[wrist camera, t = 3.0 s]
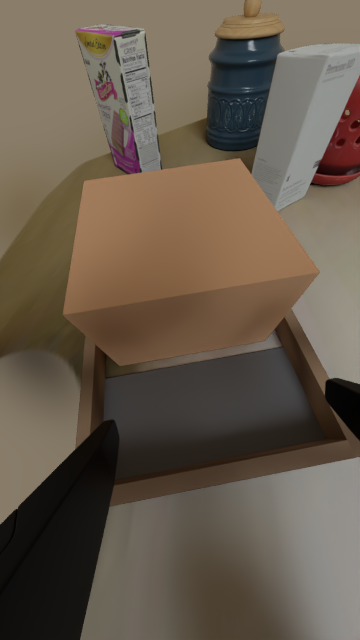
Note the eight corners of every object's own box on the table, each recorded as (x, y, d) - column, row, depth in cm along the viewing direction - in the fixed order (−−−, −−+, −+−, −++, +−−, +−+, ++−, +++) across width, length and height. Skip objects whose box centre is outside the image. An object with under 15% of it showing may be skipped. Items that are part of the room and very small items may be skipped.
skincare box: (271, 217, 30) (330, 56, 17) (242, 200, 33) (274, 50, 20) (306, 196, 32) (380, 39, 19) (276, 182, 35) (325, 36, 22)
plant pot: (377, 189, 32) (465, 73, 22) (294, 194, 33) (342, 84, 22) (344, 154, 39) (400, 51, 28) (276, 158, 39) (306, 60, 29)
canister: (193, 144, 45) (194, -5, 30) (224, 125, 49) (238, -13, 34) (244, 157, 40) (276, -11, 25) (273, 134, 45) (314, -19, 30)
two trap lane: (343, 451, 15) (370, 454, 13) (89, 501, 15) (69, 514, 12) (213, 184, 36) (214, 167, 34) (105, 200, 35) (98, 184, 33)
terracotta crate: (265, 340, 20) (320, 271, 11) (120, 366, 20) (62, 315, 11) (225, 244, 28) (239, 158, 19) (119, 261, 27) (84, 181, 18)
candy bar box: (113, 166, 42) (72, 28, 27) (133, 158, 43) (103, 23, 29) (143, 186, 37) (111, 32, 23) (164, 176, 38) (147, 25, 24)
